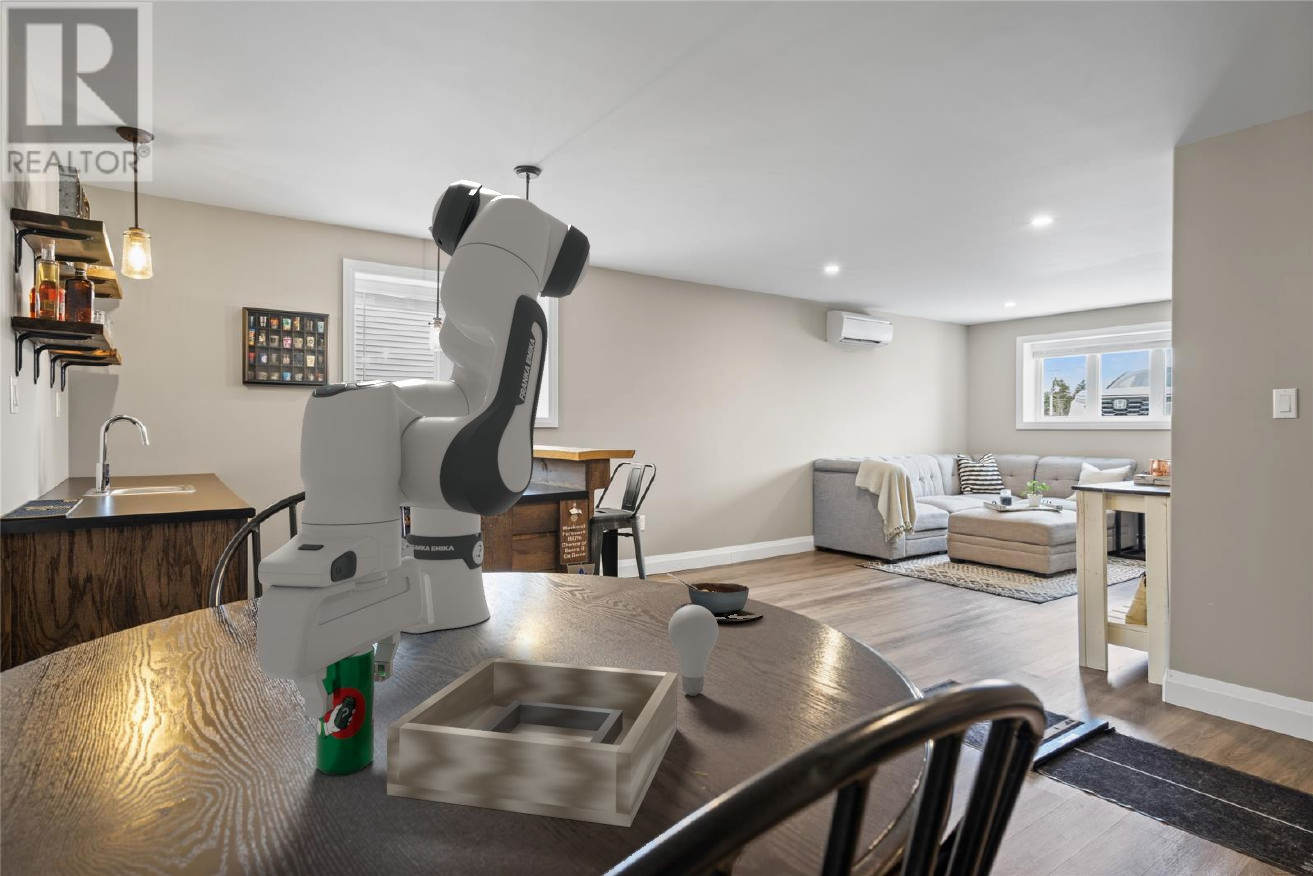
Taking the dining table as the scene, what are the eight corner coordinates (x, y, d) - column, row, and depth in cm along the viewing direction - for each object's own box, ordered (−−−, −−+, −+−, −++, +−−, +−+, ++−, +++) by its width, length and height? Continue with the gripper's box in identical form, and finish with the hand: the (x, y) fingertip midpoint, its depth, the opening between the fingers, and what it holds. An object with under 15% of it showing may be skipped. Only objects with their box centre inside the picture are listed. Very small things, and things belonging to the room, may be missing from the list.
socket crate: (386, 794, 64) (387, 726, 63) (488, 709, 83) (488, 657, 83) (630, 827, 59) (630, 753, 59) (677, 728, 78) (677, 673, 78)
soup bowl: (738, 635, 115) (738, 588, 115) (653, 620, 124) (654, 577, 124) (775, 615, 128) (776, 573, 128) (696, 603, 136) (697, 564, 136)
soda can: (385, 762, 70) (385, 637, 70) (337, 783, 65) (338, 651, 65) (352, 749, 72) (353, 629, 72) (304, 769, 68) (305, 641, 68)
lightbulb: (665, 687, 91) (666, 599, 91) (713, 686, 91) (714, 599, 91) (670, 706, 85) (671, 612, 85) (722, 704, 85) (722, 611, 85)
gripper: (385, 534, 80) (385, 660, 80) (242, 567, 60) (242, 736, 60) (437, 536, 78) (437, 664, 78) (309, 571, 58) (309, 743, 58)
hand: (352, 696), depth 69 cm, fingers open, 8 cm apart
